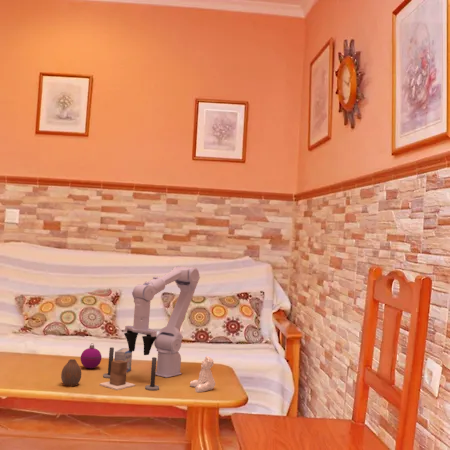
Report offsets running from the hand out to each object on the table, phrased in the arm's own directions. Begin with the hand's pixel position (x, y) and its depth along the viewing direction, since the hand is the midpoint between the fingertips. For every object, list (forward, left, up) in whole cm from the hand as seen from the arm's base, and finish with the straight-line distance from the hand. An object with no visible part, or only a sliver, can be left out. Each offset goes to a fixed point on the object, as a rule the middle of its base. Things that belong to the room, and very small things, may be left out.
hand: (139, 353), depth 211 cm
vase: (+22, -11, -11) cm, 27 cm away
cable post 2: (+4, +11, -10) cm, 16 cm away
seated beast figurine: (-11, +23, -11) cm, 28 cm away
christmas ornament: (0, -26, -11) cm, 28 cm away
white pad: (+10, 0, -10) cm, 14 cm away
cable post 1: (+4, -11, -10) cm, 16 cm away
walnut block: (+10, 0, -10) cm, 14 cm away
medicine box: (-6, -14, -11) cm, 19 cm away
